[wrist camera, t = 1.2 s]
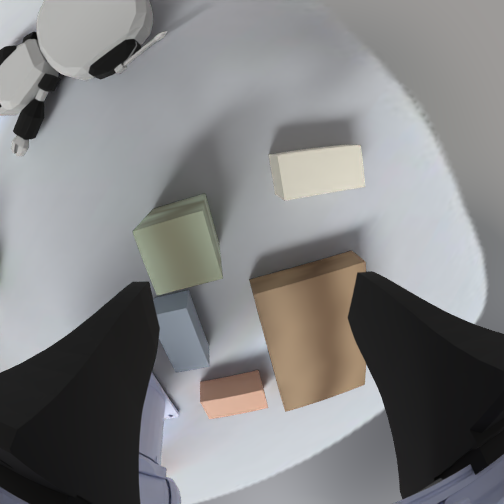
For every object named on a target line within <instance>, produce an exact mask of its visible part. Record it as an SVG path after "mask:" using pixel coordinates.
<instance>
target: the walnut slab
mask: <svg viewBox="0 0 504 504" xmlns="http://www.w3.org/2000/svg"><path fill="white" fill-rule="evenodd" d="M357 272H366V263H365V261H364V260H363V259H362V258H360V257H359V256H358V255H357V254H355V253H354V252H353V251H348V252H345V253H342V254H338V255H335V256H331V257H328V258H325V259H321V260H318V261H314V262H311V263H307V264H304V265H300V266H297V267H293V268H290V269H286V270H282V271H279V272H275V273H272V274H268V275H264V276H261V277H257V278H253V279H250V280H249V281H250V284H251V288H252V292H253V296H254V299H255V303H256V307H257V311H258V314H259V318H260V322H261V326H262V329H263V333H264V337H265V340H266V344H267V348H268V351H269V355H270V359H271V362H272V366H273V370H274V373H275V377H276V381H277V384H278V388H279V392H280V395H281V399H282V402H283V405H284V409H285V412H286V411H290V410H293V409H297V408H300V407H303V406H306V405H310V404H313V403H316V402H319V401H322V400H325V399H328V398H330V397H333V396H336V395H339V394H341V393H344V392H347V391H349V390H352V389H354V388H357V387H359V386H362V385H364V384H365V373H366V362H365V360H364V358H363V356H362V354H361V352H360V350H359V348H358V346H357V344H356V342H355V339H354V336H353V333H352V331H351V327H350V324H349V321H348V313H349V309H350V305H351V300H352V296H353V291H354V286H355V281H356V276H357Z"/></svg>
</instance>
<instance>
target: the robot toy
mask: <svg viewBox="0 0 504 504" xmlns="http://www.w3.org/2000/svg"><path fill="white" fill-rule="evenodd" d="M152 25H153V13H152V8H151V4H150V1H149V0H44V2H43V4H42V6H41V8H40V10H39V13H38V17H37V23H36V32H32V33H31V34H29V35H27V36H26V37H24V39H23V42H22V43H21V44H20V45H18V46H6V47H4V48H2V49H1V50H0V116H6V115H17V114H18V113H20V112H21V113H20V115H19V117H18V120H17V122H16V125H15V127H14V130H13V132H14V133H15V134H16V135H17V136H16V137H15V138H14V139H13V141H12V146H11V150H12V152H13V153H14V154H15V153H17V154H16V155H17V156H19V157H21V156H24V155H25V153H26V151H27V150H28V148H29V139H33V138H36V135H37V133H38V130H39V128H40V126H41V124H42V121H43V119H44V100H45V98H46V96H47V94H48V92H52V91H55V89H56V87H57V85H58V83H59V81H60V80H61V79H60V78H59V77H58V75H59V73H61V74H62V75H66V76H69V77H72V78H76V79H80V80H84V81H87V80H89V79H92V78H95V77H96V78H99V79H103V78H105V77H108V76H110V75H113V74H115V73H120V74H121V73H122V72H123V71H124V70H125V69H127V65H128V64H130V63H131V62H132V61H133V60H134V59H135V58H137V57H138V56H139V55H140V54H142V53H143V52H144V51H145V50H147V49H148V48H149V47H150V46H152V45H153V44H154V43H156V42H157V41H160V40H161V39H162V38H164V37H165V35H166V33H167V31H166V32H161V33H159V34H158V35H156V36H155V37H154V39H153V40H151V41H150V42H149V43H147V44H146V45H145V46H144V47H142V48H141V45H142V44H143V43H144V41H145V40H146V39H147V38H148V36H149V35H150V34H151V30H152Z"/></svg>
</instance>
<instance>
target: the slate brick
mask: <svg viewBox="0 0 504 504" xmlns="http://www.w3.org/2000/svg"><path fill="white" fill-rule="evenodd" d="M154 306H155V310H156V314H157V318H158V322H159V326H160V332H159V340H160V342H161V344H162V346H163V348H164V350H165V352H166V354H167V356H168V358H169V360H170V362H171V364H172V366H173V368H174V370H175V372H182V371H188V370H194V369H199V368H205V367H210V364H209V345H208V342H207V339H206V337H205V334H204V331H203V329H202V326H201V323H200V320H199V318H198V315H197V312H196V309H195V306H194V304H193V301H192V298H191V295H190V292H189V290H186V291H182V292H177V293H173V294H169V295H164V296H160V297H155V298H154Z"/></svg>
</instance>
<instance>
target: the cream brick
mask: <svg viewBox="0 0 504 504" xmlns="http://www.w3.org/2000/svg"><path fill="white" fill-rule="evenodd" d="M269 161H270V166H271V172H272V178H273V184H274V190H275V195H277V196H278V197H280V198H281V199H283V200H284V201H287V200H292V199H298V198H303V197H308V196H314V195H320V194H325V193H331V192H337V191H343V190H349V189H355V188H361V187H365V179H364V169H363V160H362V152H361V145H335V146H326V147H318V148H310V149H302V150H295V151H288V152H282V153H275V154H269Z"/></svg>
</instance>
